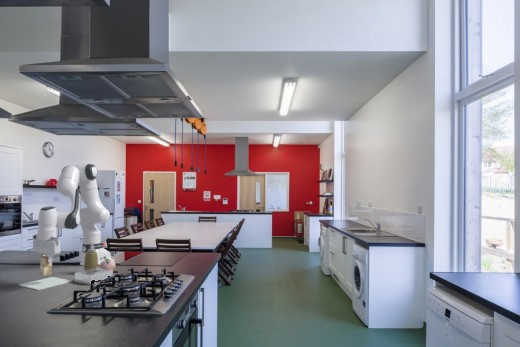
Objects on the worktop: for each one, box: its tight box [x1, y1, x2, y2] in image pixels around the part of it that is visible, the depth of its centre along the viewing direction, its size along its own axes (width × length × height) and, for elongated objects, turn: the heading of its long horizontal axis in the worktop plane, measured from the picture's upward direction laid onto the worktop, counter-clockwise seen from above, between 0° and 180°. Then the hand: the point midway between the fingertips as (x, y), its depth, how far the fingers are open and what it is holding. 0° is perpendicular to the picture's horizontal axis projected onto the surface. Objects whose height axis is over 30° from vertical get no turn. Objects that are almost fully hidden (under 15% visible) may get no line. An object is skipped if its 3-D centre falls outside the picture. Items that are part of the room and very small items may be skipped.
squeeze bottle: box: [83, 243, 99, 270], centre depth 210 cm, size 8×8×18 cm
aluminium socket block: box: [74, 267, 114, 286], centre depth 192 cm, size 14×14×5 cm
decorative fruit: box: [99, 258, 116, 271], centre depth 206 cm, size 9×8×10 cm
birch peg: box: [39, 254, 53, 277], centre depth 185 cm, size 4×4×10 cm
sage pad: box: [18, 276, 73, 291], centre depth 185 cm, size 18×18×1 cm
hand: (46, 261), depth 185 cm, fingers closed on birch peg, 4 cm apart
